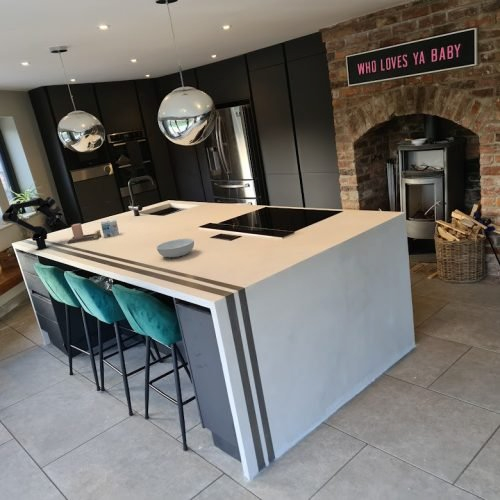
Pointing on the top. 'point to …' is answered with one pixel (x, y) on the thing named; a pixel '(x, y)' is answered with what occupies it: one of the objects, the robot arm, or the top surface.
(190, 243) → the serving bowl
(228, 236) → the top surface
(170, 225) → the top surface
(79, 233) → the marker sleeve
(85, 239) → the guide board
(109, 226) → the light bulb box
